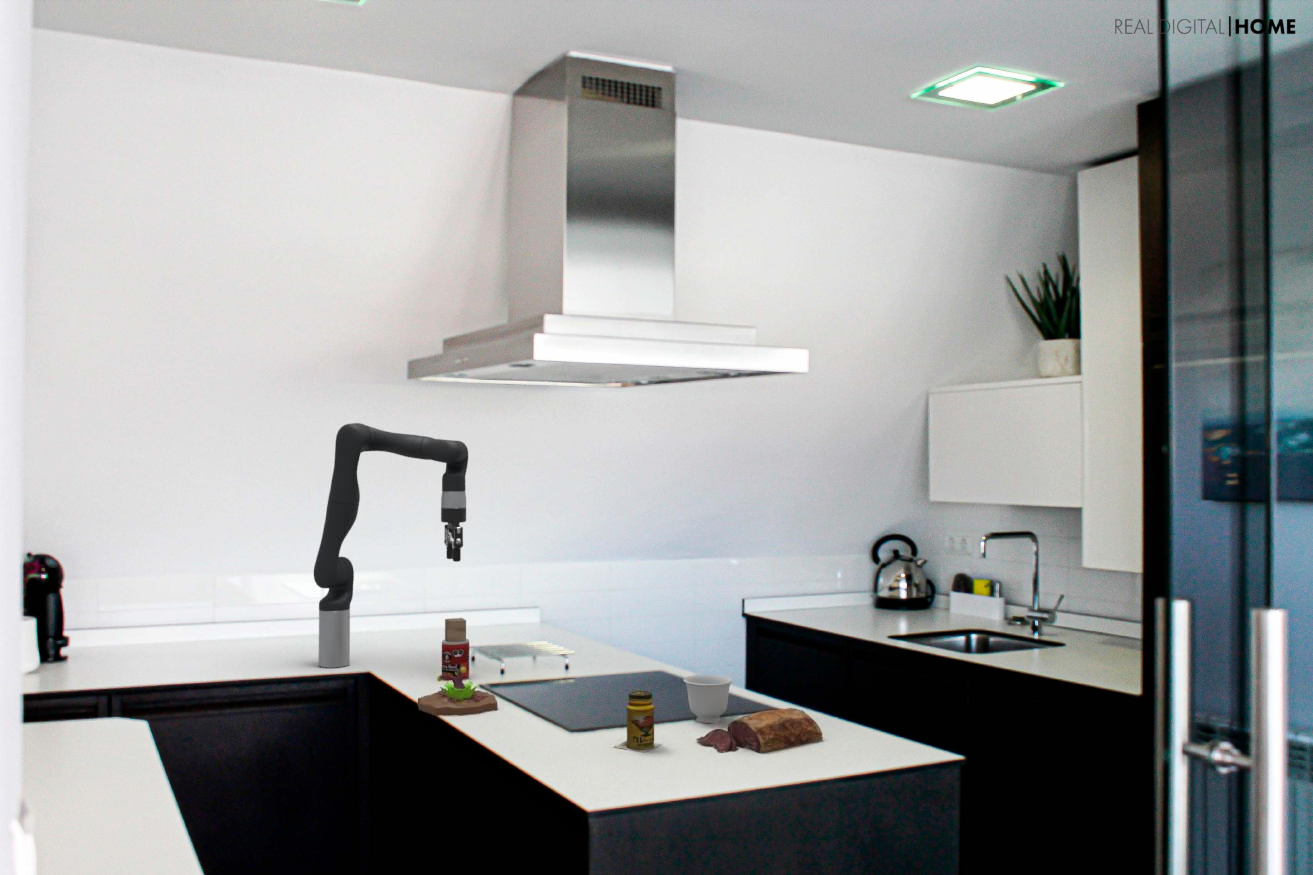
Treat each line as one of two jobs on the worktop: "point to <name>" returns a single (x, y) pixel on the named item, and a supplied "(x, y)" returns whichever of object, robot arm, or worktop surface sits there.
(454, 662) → the canned food
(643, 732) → the condiment
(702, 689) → the teacup
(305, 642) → the worktop surface
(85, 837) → the worktop surface
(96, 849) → the worktop surface
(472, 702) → the plant
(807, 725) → the cured meat
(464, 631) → the walnut block
